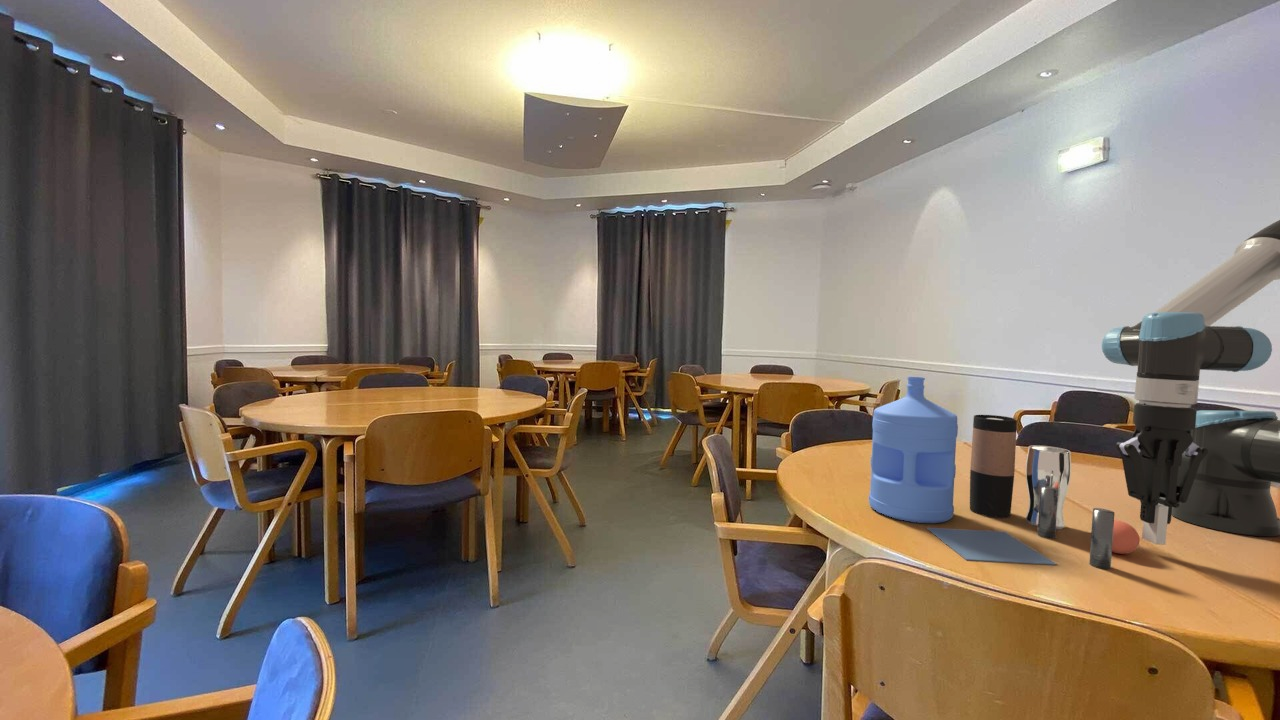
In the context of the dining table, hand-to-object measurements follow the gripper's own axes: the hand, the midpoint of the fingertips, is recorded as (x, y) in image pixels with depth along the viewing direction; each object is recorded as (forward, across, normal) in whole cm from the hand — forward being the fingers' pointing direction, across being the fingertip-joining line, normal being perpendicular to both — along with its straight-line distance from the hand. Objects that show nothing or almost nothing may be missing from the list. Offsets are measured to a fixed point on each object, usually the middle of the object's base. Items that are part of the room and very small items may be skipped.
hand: (1153, 541), depth 90 cm
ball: (0, -6, 0) cm, 6 cm away
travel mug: (+3, -16, +19) cm, 25 cm away
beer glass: (+3, -9, +13) cm, 16 cm away
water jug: (+3, -33, +17) cm, 37 cm away
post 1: (+2, -13, +6) cm, 15 cm away
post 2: (+2, -13, -6) cm, 15 cm away
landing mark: (+3, -27, 0) cm, 27 cm away
